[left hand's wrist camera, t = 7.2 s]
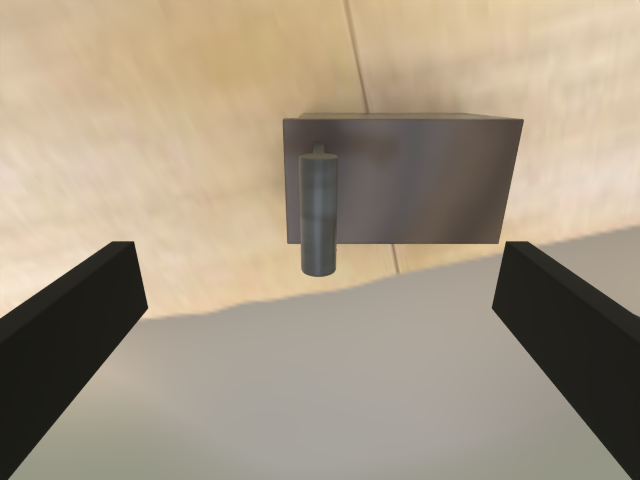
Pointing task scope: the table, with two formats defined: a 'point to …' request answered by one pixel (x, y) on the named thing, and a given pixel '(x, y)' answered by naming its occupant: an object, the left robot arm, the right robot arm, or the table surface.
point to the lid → (395, 182)
